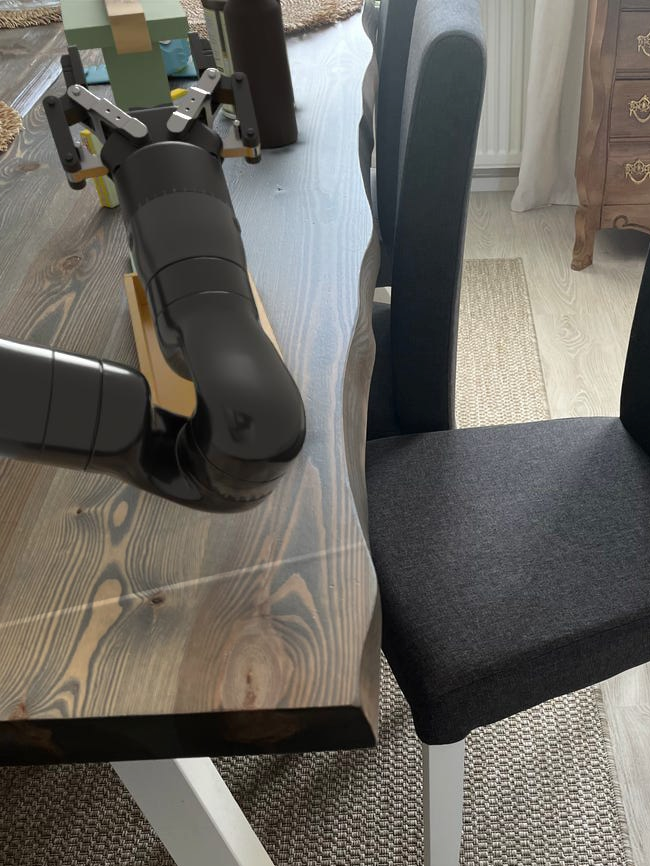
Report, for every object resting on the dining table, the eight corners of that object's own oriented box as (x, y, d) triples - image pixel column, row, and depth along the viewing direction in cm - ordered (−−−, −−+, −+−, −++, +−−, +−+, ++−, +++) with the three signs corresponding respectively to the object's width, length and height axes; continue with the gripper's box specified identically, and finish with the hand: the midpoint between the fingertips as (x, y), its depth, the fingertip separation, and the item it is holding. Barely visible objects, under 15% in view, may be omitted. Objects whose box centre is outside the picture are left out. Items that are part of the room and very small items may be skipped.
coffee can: (278, 92, 144) (261, -24, 134) (307, 112, 138) (292, -7, 128) (210, 105, 141) (187, -12, 131) (237, 127, 134) (215, 5, 124)
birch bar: (152, 51, 77) (143, 12, 75) (118, 54, 77) (108, 15, 75) (130, -10, 91) (123, -44, 89) (101, -7, 90) (92, -42, 88)
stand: (241, 288, 101) (187, 16, 84) (140, 306, 99) (63, 29, 82) (221, 233, 111) (168, -22, 94) (129, 248, 108) (57, -11, 91)
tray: (304, 433, 83) (298, 396, 80) (161, 462, 80) (150, 425, 78) (250, 288, 101) (243, 254, 99) (132, 308, 99) (122, 273, 96)
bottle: (244, 133, 132) (211, -47, 118) (295, 128, 134) (269, -52, 119) (248, 151, 128) (215, -34, 114) (301, 145, 129) (275, -39, 115)
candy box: (192, 158, 127) (176, 87, 121) (205, 161, 126) (190, 89, 120) (98, 205, 117) (77, 129, 111) (112, 209, 116) (91, 133, 110)
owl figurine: (258, -9, 150) (250, 22, 139) (268, 56, 156) (261, 89, 146) (68, 0, 149) (45, 31, 138) (86, 65, 155) (66, 99, 145)
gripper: (90, 284, 72) (47, 100, 75) (287, 252, 75) (237, 76, 78) (64, 212, 65) (18, 13, 68) (283, 180, 68) (227, -9, 71)
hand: (135, 47), depth 73 cm, fingers open, 8 cm apart
